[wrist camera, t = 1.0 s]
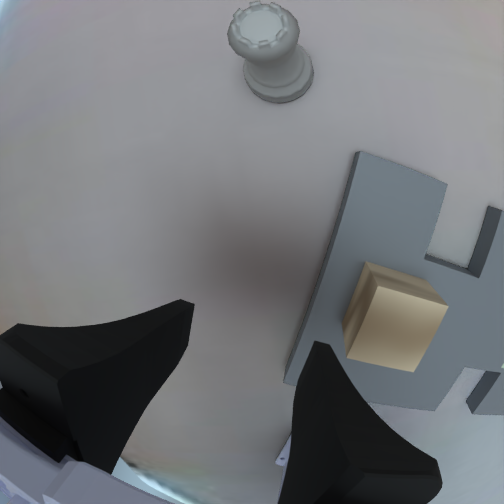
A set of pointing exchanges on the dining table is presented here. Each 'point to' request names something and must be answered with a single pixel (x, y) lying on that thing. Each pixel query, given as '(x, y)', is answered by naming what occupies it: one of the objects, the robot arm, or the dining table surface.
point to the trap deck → (419, 265)
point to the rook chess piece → (271, 52)
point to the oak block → (391, 318)
